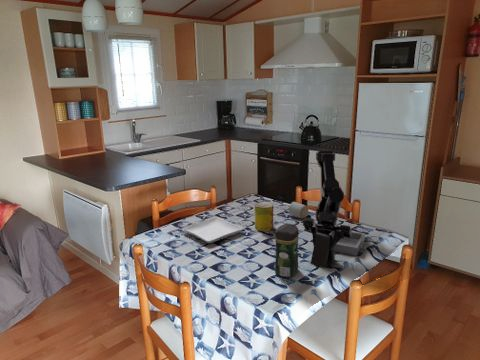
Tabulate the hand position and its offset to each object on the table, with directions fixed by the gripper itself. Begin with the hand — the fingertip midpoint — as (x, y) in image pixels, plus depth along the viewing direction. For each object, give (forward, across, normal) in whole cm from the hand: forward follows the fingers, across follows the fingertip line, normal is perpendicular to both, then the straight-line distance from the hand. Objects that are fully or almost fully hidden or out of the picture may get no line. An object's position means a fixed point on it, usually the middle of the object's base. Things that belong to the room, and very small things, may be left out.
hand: (322, 247), depth 146 cm
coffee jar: (+14, -10, -4) cm, 17 cm away
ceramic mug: (-28, -26, +37) cm, 53 cm away
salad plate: (+1, -55, +10) cm, 56 cm away
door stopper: (+4, 0, +6) cm, 7 cm away
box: (-10, +4, +19) cm, 22 cm away
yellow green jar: (-12, -36, +21) cm, 43 cm away
